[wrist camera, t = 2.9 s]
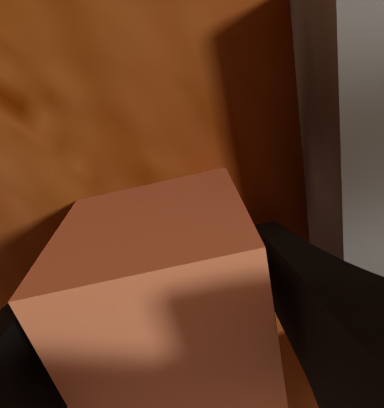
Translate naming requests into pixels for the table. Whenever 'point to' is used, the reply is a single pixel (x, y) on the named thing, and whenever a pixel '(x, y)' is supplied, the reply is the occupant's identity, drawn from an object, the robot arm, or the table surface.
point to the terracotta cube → (156, 301)
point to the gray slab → (342, 125)
